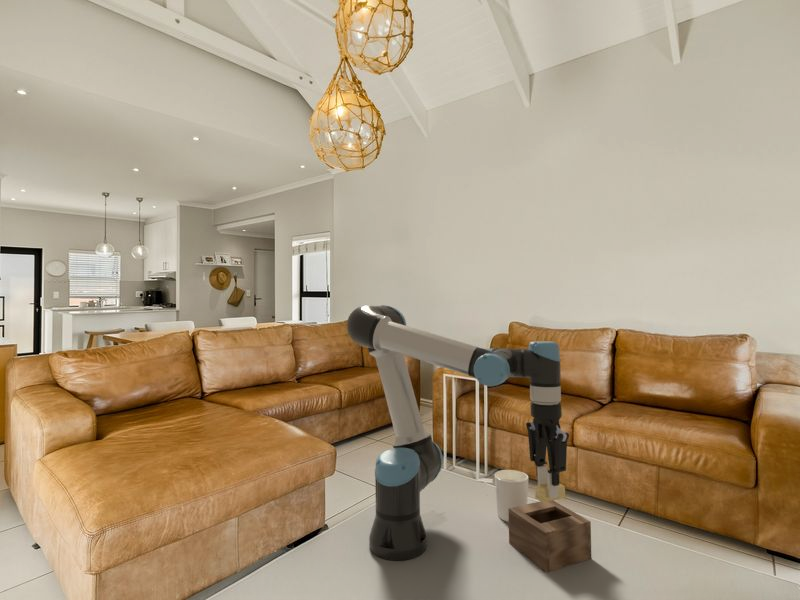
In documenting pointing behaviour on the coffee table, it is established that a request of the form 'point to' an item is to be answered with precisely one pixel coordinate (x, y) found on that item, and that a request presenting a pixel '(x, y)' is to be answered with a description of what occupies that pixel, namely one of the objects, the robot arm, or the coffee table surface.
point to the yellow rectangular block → (542, 493)
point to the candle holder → (510, 491)
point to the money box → (550, 534)
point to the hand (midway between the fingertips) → (548, 494)
